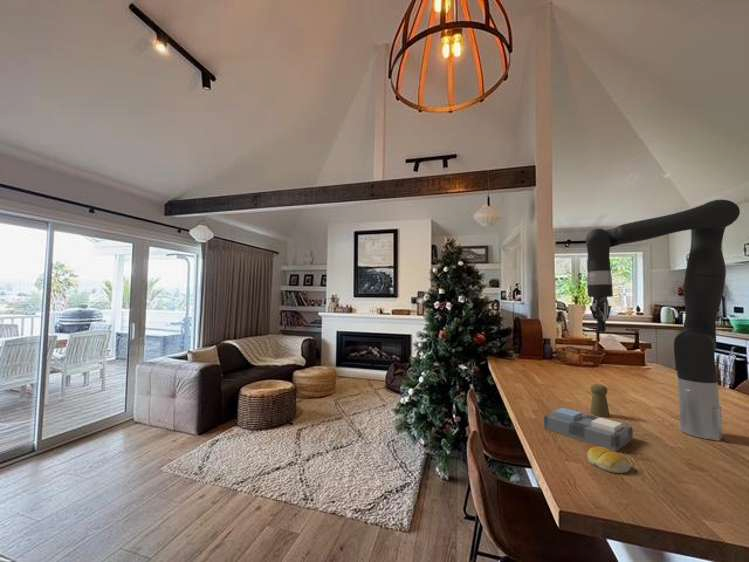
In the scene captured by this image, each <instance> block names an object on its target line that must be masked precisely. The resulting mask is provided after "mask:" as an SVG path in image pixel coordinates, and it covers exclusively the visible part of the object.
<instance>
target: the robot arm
mask: <svg viewBox="0 0 749 562" xmlns="http://www.w3.org/2000/svg"><path fill="white" fill-rule="evenodd" d="M740 214H741V209H740V207H739V205H737V203H735V202H734V201H732V200H729V199H714V200H711V201H707V202H706V203H704V204H700V205H698V206H696V207H693V208H690V209H686V210H683V211H679V212H676V213H672V214H667V215H662V216H657V217H653V218H646V219H642V220H637V221H633V222H629V223H623V224H620V225H618V226H616V227H614V228H610V229H603V228H595V229H592V230H591V231H589V232H588V233H587V235H586V238H585V245H586V248H587V250H586V251H587V259H586V268H587V271H586V272H587V273H586V274H587V276H586V287H587V289H586V290H587V297H589V298H592V303H591V305H589V310H590V313H591V315H592V317H593V319H594V320H595V321H596V326H597V327H596V328H597V331H598V332H601V333H602V332H606V331H607V325H606V324H607V323H606V321H608V320H609V317H610V314H611V309H612V305H610V302H609V300H608V297H609V298H611V297H613V295H614V294H613V292H614V290H613V275H612V272H611V271H612V270H611V269H612V268H611V259H610V251H611V250H610V249H611V248H613V247H617V246H620V245H626V244H632V243H635V242H636V243H637V242H643V241H647V240H652V239H655V238H658V237H659V238H660V237H662V236H666V235H670V234H674V233H678V232H685V231H689V230H690V232H691V233H690V236H691V237H690V240H691V241H690V248H689V249H690V250H689V254H688V258H687V262H686V269H685V273H684V281H683V300H684V307H685V317H684V322H683V326H682V329H681V332H680V333H678V334H677V335H676V336H675V338H674V339H673V355H674V364H675V370H676V374H677V375H676V376H677V389H678V405H679V421H680V431H681V432H682V433H684V434H686V435H690V436H692V437H696V438H701V439H704V440H713V441H719V442H720V441H721V439H722V438H723V437H724V430H723V415H722V414H723V413H722V406H721V405H720V398H719V397H720V395H719V384H718V383H719V382H718V381H719V380H718V373H717V370H716V359H715V351H716V350H717V349H716V348H717V319H718V318H717V316H718V313H719V309H720V306H721V303H722V299H723V294H724V289H725V283H726V275H727V270H726V262H725V258H724V255H723V246H722V243H723V239H724V235H725V234H724V233H725V230H726V228H728V227H729V226H731V225H732V224H733V223H735V222H736V221H737V219H738V218H739V217H740Z"/></svg>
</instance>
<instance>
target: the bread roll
mask: <svg viewBox="0 0 749 562" xmlns="http://www.w3.org/2000/svg"><path fill="white" fill-rule="evenodd" d="M586 455H587V460H588V462H589V463H590V464H592V465H593V466H595V467H597V468H599V469H600V470H603V471H606V472H609V473H614V474H623V473H628V472H629V471H630V469H631V465H630V462H629V460H628V459H627V458H626V457H625V456H624V455H622V454H621V453H619V452H618V451H616V452H615V451H612V450H609V449H608V448H605V447H599V446H594V447H591V448H589V449H588V451H587V454H586Z"/></svg>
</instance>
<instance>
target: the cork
mask: <svg viewBox="0 0 749 562" xmlns="http://www.w3.org/2000/svg"><path fill="white" fill-rule="evenodd" d="M590 391H591V392H592V397H591V398H592V399H591V407H590V415H592V414H593V415H592V416H595V417H598V416H599V417H600V418H610V417H611V415H610V410H609V405H608V401H607V400H608V399H607V394H608V387H607V386H606V385H603V384H599V383H597V384H592V385H590ZM599 417H598V418H599Z"/></svg>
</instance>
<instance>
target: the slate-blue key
mask: <svg viewBox="0 0 749 562" xmlns="http://www.w3.org/2000/svg"><path fill="white" fill-rule="evenodd" d="M553 413H554V416H557V417H561V418H564V419H568V420H571V421H576V420H578V419H580V418H582V412H580V411H578V410H574V409H569V408H566V407H560V408H558V409H556V410H554V411H553Z"/></svg>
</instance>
